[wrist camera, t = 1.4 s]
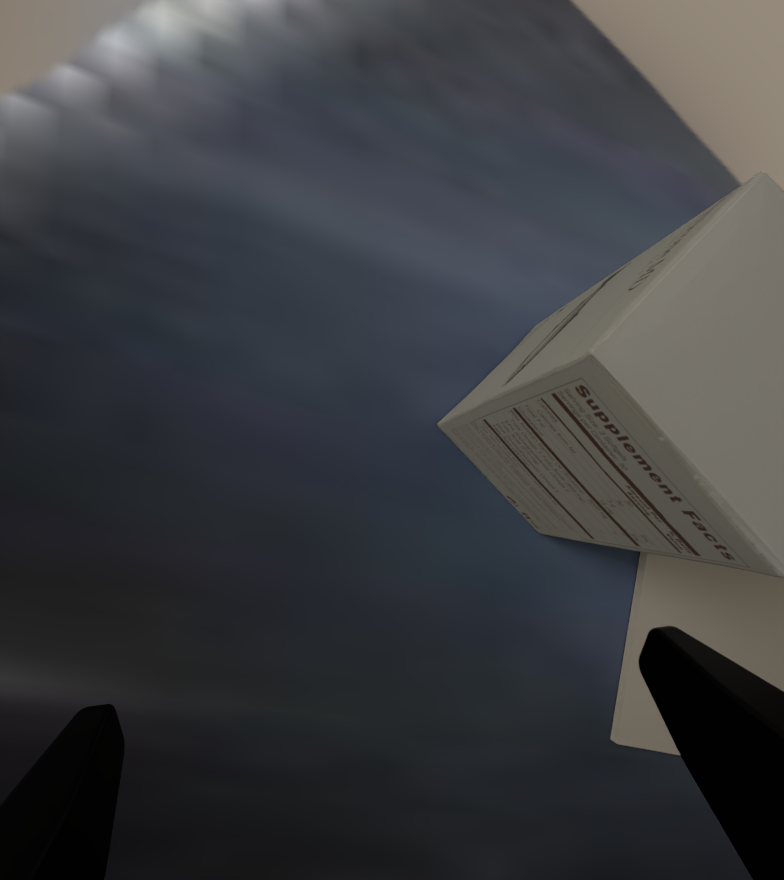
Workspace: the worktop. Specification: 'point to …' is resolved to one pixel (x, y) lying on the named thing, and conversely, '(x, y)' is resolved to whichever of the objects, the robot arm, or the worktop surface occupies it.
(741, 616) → the grey mat
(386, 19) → the worktop surface
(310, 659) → the worktop surface
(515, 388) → the supplement box
